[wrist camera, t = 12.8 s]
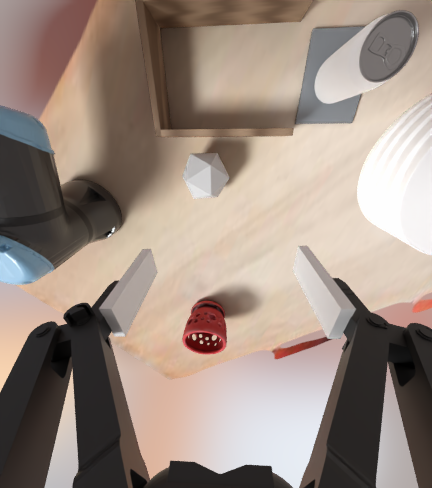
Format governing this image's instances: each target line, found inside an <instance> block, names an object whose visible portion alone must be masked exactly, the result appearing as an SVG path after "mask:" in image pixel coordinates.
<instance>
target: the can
mask: <svg viewBox="0 0 432 488" xmlns="http://www.w3.org/2000/svg"><path fill="white" fill-rule="evenodd" d="M418 35H419V26H418V21H417V19H416V17H415V16H414V15H413V14H412V13H411V12H409V11H406V10H398V11H395V12H392V13H390V14H386V15H383V16H381V17H379V18H377V19H375V20H374V21H372V22H371V23H370V24H368V25H367V26H366V27H365V28H363V29H362V30H361V31H360V32H359V33H357V34H356V35H355V36H354V37H353V38H351V39H350V40H349V41H348V42H347V43H345V44H344V45H343V46H342V47H341V48H339V49H338V50H337V51H336V52H335V53H333V54H332V55H331V56H330V57H329V58H328V59H327V60H326V61H325V62H324V63H323V64H322V66H321V67H320V69H319V71H318V73H317V75H316V79H315V85H314V88H315V94H316V96H317V98H318V99H319V100H320V101H321V102H323V103H326V104H332V103H336V102H339V101H342V100H344V99H347V98H350V97H353V96H356V95H359V94H361V93H364V92H367V91H370V90H372V89H375V88H377V87H379V86H381V85H382V84H384V83H385V82H387V81H388V80H389V79H390V78H391V77H393V76H394V75H396V74H397V73H398V72H399V71H400V70H401V69H402V68H403V67H404V66H405V65H406V63H407V62H408V60H409V59H410V57H411V56H412V54H413V52H414V49H415V47H416V44H417V41H418Z"/></svg>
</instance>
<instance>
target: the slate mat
mask: <svg viewBox="0 0 432 488" xmlns="http://www.w3.org/2000/svg"><path fill="white" fill-rule="evenodd" d="M365 27H366V26H365ZM365 27H343V28H321V29H313V30H312V34H311V40H310V45H309V51H308V56H307V62H306V67H305V73H304V78H303V84H302V89H301V95H300V100H299V106H298V111H297V117H296V122H295V124H313V123H352V121H353V118H354V115H355V112H356V109H357V105H358V102H359V99H360V96H361V94H359V95H356V96H353V97H350V98H347V99H344V100H342V101H339V102H336V103H332V104H326V103H323V102H321V101H320V100H319V99H318V98H317V96H316V94H315V88H314V85H315V79H316V75H317V73H318V71H319V69H320V67H321V66H322V64H323V63H324V62H325V61H326V60H327V59H328V58H329V57H330V56H331V55H332V54H333V53H335V52H336V51H337V50H338V49H339V48H341V47H342V46H343V45H344V44H345V43H347V42H348V41H349V40H350V39H351V38H353V37H354V36H355V35H356V34H357V33H359V32H360V31H361V30H362V29H363V28H365Z"/></svg>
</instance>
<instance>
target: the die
mask: <svg viewBox="0 0 432 488" xmlns="http://www.w3.org/2000/svg"><path fill="white" fill-rule="evenodd" d="M182 177H183V178H184V180H185V182H186V184H187V186H188V188H189V190H190V192H191V194H192V196H193V198H194V199H200V198H210V197H218V196H219V194H220V192H221V191H222V189H223V188H224V186H225V184H226V183H227V181H228V180H229V175H228V173H227V171H226V169H225V167H224V165H223V163H222V161H221V159H220V157H219V155H218V153H198V154H190V157H189V159H188V162H187V165H186V167H185V170H184V173H183V176H182Z"/></svg>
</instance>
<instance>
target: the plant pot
mask: <svg viewBox="0 0 432 488" xmlns="http://www.w3.org/2000/svg"><path fill="white" fill-rule="evenodd" d="M224 317H225V311H224V309H223V308H222V307H221V306H220V305H219V304H217V303H215V302H213V301H201V302H198V303H196V304H195V305H194V306H193V307H192V309H191V316H190V317H189V319H188V321H187V324H186V327H185V330H184V334H183V344H184V345H185V347H186V348H188V349H189V350H191V351H193V352H196V353H199V354H216V353H219V352H221V351H223V350H224V349H225V347H226V342H227V336H226V323H225V320H224ZM193 334H195V335H196V340H195V341H194V340H193V339H192V335H193ZM199 334H202V338H200V337H199ZM188 335H189V338H188ZM213 335H216V336H217V339H216V340H215V341H213V340H212V336H213ZM206 337H209V340H205V338H206ZM220 339H221V341H220V342H219V340H220ZM201 340H202V341H203V344H200V341H201ZM207 343H210V344H209V345H207ZM215 343H217V344H216V346H214V345H215Z"/></svg>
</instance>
